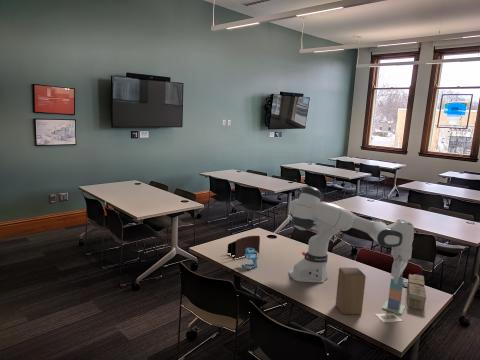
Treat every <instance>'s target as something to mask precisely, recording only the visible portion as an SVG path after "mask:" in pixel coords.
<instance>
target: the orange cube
mask: <svg viewBox="0 0 480 360" xmlns="http://www.w3.org/2000/svg"><path fill="white" fill-rule="evenodd" d="M402 294H403V288H402V290H401V291H398V290H394V289H391V288H390V287H389V293H388V299H389V298H391V299H394V300H398V301H400V299H401V300H402Z"/></svg>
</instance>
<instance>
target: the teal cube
mask: <svg viewBox="0 0 480 360" xmlns="http://www.w3.org/2000/svg"><path fill="white" fill-rule="evenodd" d="M404 281H405V278H404V277H399V279H398V284H395V283H394V277H392V276H391V278H390V284H389V289H390V288H391V289H394V290H398V291H401V290H402V291H403V289H402V288H403V287H404Z"/></svg>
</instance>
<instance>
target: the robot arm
mask: <svg viewBox="0 0 480 360" xmlns="http://www.w3.org/2000/svg"><path fill="white" fill-rule="evenodd" d="M322 196H323V195H322V192H321V191H320V190H319V189H318V188H316V187H313V186H305V187H303V188H302V189H301V191H300V195H299V197H298V198H295V199H293V200H292V201H291V202H290V203H289V205H288V209H289V213H290V214H291V215H292V217H291V224H292V226H294V227H295V228H296V229H298V230H301V231H308V230H314V231H317V234H315V235H313V236H311V237H310V238H309V239H308V244H307V245H308V247H307V252H305V251H302V252H301V255H302V256H303V258H302V259H301V260H299V261H297V262H296V263H294V266H293V269H291V270H289V276H290V277H291V278H292V280H294V281H295V282H301V283H324V281H326V280H328V278H329V276H328V270H327V267H328V265H327V263H328V260H329V259H328V257H329V255H328V248H329V243H330V240H331V239H332V237H333V236H334V235H336V234H338V233H339V232H340V231H343V232H345V231H348V230H350V229H356V230H358V231H361V232H363V233H366V234H367V235H368V236H369V237H370V238H371V239H373V240H374V241H375V242H376V243H378V244H377V245H379V246H381V247H383V248H391V253H390V255H391V257H393V263H392V264H391V265H392V266H391V273H390V275H391V278H392V277H394V283H395V284H398V279H399V277H401V278H403V273H404V271H405V269H406V267H407V265H408V262H409V260H411V258H412V254H413V253H412V251H413V241H414V236H415V235H414V234H415V228H414V225H413V224H412V223H411V222H410V221H407V220H404V219H397V220H396V221H395V222H392V223H391V224H387V223H386V222H384V221H383V220H378V219H375V220H373V219H372V220H371V219H366V218H364V217H362V216H358V215H356V214H354V213H353V212H352V211H350V210H348V209H347V208H345V207H343V206H342V205H341V206H340V205H338V204H335V203H331V202H327V201H321V200H322Z"/></svg>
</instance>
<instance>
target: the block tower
mask: <svg viewBox="0 0 480 360" xmlns="http://www.w3.org/2000/svg"><path fill="white" fill-rule="evenodd" d="M406 289H407V290H406V291H407V296H406V297H407V307H409V308H413V309H416V310H422V311H424V310H425V308H426V307H425V306H426V301H427V294H426V293H427V292H426V287H425V276H424V275H420V274H414V273H413V274H411V273H410V274H408V281H407V287H406Z"/></svg>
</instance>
